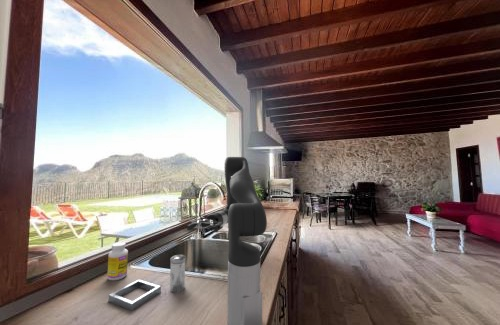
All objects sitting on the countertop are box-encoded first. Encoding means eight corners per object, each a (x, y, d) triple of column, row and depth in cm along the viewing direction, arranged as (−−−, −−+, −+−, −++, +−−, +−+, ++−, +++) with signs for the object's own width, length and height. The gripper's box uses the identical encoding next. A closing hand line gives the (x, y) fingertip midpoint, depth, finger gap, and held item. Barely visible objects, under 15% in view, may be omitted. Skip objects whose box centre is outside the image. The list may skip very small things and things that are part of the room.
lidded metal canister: (186, 289, 75) (187, 258, 76) (171, 294, 72) (172, 261, 73) (182, 283, 80) (182, 253, 80) (167, 287, 77) (168, 256, 77)
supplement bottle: (117, 282, 80) (119, 247, 81) (102, 280, 81) (104, 246, 82) (130, 273, 86) (132, 242, 87) (117, 272, 88) (118, 240, 88)
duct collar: (160, 292, 74) (160, 286, 74) (131, 310, 64) (131, 303, 64) (138, 284, 78) (138, 279, 78) (108, 301, 68) (108, 294, 68)
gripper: (204, 210, 104) (182, 218, 89) (230, 213, 99) (211, 222, 84) (204, 226, 104) (182, 236, 89) (230, 229, 99) (210, 241, 84)
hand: (196, 229), depth 87 cm, fingers open, 8 cm apart
